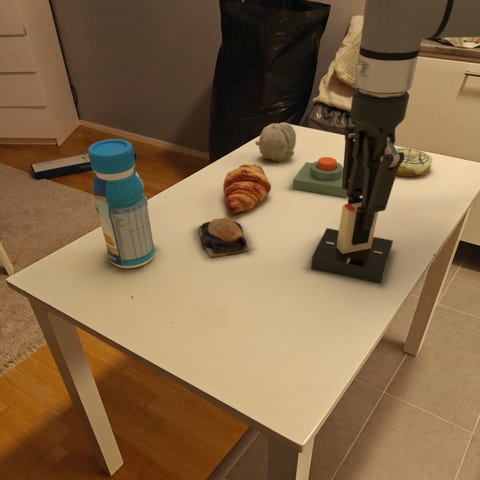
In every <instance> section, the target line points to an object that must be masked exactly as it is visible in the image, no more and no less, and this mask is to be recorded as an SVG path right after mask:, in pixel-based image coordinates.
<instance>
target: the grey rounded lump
mask: <svg viewBox="0 0 480 480" xmlns="http://www.w3.org/2000/svg"><path fill="white" fill-rule="evenodd" d="M296 140H297V134H296V130H295V129H294V127H293V126H292V125H291V124H290V123H287V122H280V123H275V122H273V123H269V125H266V126H265V127H263V129H262V131H261V132H260V135H259V139H258V140H255V141H254V142H255V143H254V144H255V146H258V149H259V153H260V154H261V156H262V158H263V159H264V160H272V162H277V163H282V162H284V161H285V160H288V159H289V158H292V157H293V156H294V155H295V148H296V144H297V141H296Z"/></svg>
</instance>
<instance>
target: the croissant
mask: <svg viewBox="0 0 480 480" xmlns="http://www.w3.org/2000/svg"><path fill="white" fill-rule="evenodd" d="M222 185H223V188H222V190H223V195H224V201H225V207H226V208H227V209H228V211H230V212H231V213H233V214H234V213H235V214H237V213H239V212H247V211H250V210H252V209H253V208H254V207H255V206H257V205H259V204H260V203H261V202H262V201H263V200H264V198H265V197H267V195H269V194H270V192H271V190H272V183H271V181H270V180H269V178H268V177H267V175H266V174H265V170H264V169H263V168H262V166H261V165H257V164H253V163H252V164H242V165H240V166H238V167H237V168H235V169H233V170H230V171H227V173H226V176H225V177H224V181H223V183H222Z"/></svg>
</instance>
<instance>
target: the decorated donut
mask: <svg viewBox="0 0 480 480" xmlns="http://www.w3.org/2000/svg"><path fill="white" fill-rule="evenodd" d="M395 149H396V151H397V153H399V152H403V153H404V156H405V157H404V160H403V162H402V163H401V165H400V166H399V168H398V171H397V174H396V176H402V177H416V176H418V177H420V176H423V175H425V174H427V173H428V172H429V171H430V170H431V167H432V164H433V158H432V156H431V155H429V154H427V153H426V152H423V151H422V150H419V149H414V148H409V147H397V148H396V147H395Z"/></svg>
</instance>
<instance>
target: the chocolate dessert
mask: <svg viewBox="0 0 480 480" xmlns="http://www.w3.org/2000/svg"><path fill="white" fill-rule="evenodd" d="M197 229H198V234H199V237H200V240H201V244H202V245H203V247H204V250H205V251H206V253H207V255H208V256H209V258H218V257H228V255H229V256H230V255H237V254H241V253H246V252H249V251H250V247H249V245H248V243H247V239H246V237H245V236H244V230H243V226H242V224H241V223H239V222H237V221H235V220H233V219H230V218H226V217H222V218H221V217H220V218H215V219H212V220H211V221H206V222H204V223H202V224H201V225H200V226H199V225H198V228H197Z"/></svg>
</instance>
